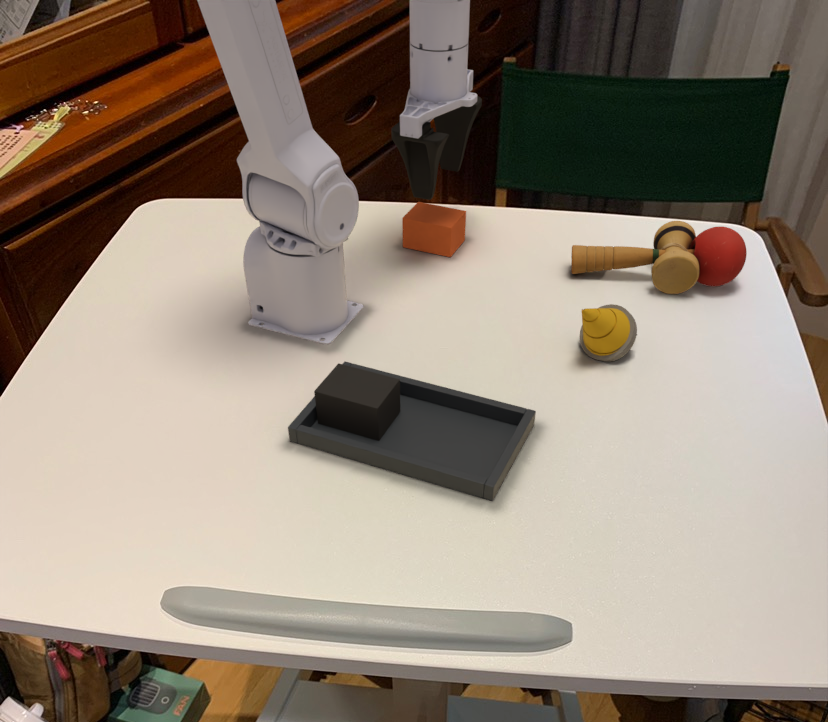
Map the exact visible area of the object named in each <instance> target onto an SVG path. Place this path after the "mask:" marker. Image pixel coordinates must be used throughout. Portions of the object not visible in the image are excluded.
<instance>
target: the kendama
mask: <svg viewBox="0 0 828 722" xmlns="http://www.w3.org/2000/svg"><path fill="white" fill-rule="evenodd" d="M652 243H653V248H649V247H638V246H625V245H624V246H623V245H621V246H619V245H618V246H617V245H616V246H611V245H605V246H604V245H583V244H582V245H581V244H580V245H579V244H573V245H572V246H571V266H570V267H571V270H570V271H571V272H570V273H571V274H572V275H578V274H584V273H594V272H603V271H612V270H624V269H633V268H639V267H643V266H649V265H652V267H651V281H652V284H653V286H654V288H655V289H656V290H658V291H659V292H662V293H664V294H666V295H679V294H682V293H685V292H688V290H690V289H691V288H693V287H694V286H695V285H696V284H697V283H699V284H700V285H703V286H707V287H721V286H724V285H727V284H729V283H731V282H733V281H734V280H735V279H736V278H737V277H738V276H739V275H740V273H741V272H742V270H743V269H744V266H745V263H746V260H747V245H746V242H745V240H744V238H743V236H741V234H740V233H739V232H737V231H736V230H735V229H732V228H730V227H727V226H712V227H710V228H706V229H704V230H703V231H701V232H700V233H699V234H697V235H696V231H695V229H694V227H693V226H692V225H691V224H689V223H688V222H686V221H683V220H671V221H669V222H668V221H667V222H666V223H664V224H663V225H661V226H660V227H659V228H658V229H657V230H656V232H655V234H654V237H653V242H652Z"/></svg>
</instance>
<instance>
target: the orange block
mask: <svg viewBox="0 0 828 722" xmlns="http://www.w3.org/2000/svg"><path fill="white" fill-rule="evenodd" d="M401 220H402V221H401V223H402V226H401V227H402V228H401V229H402V248H406V249H409V250H413V251H419V252H424V253H429V254H433V255H437V256H443V257H448V258H452V256H453V255H454V254H455V253H456V252H457V250H458V249H459V248H460V247H461V245H462V244H463V243H464V242H465V240H466V227H467V226H466V225H467V224H466V223H467V222H466V221H467V210H463V209H458V208H454V207H453V208H452V207H447V206H442V205H438V204H432V203H427V202H422V201H418V202H416V203H415V204H414V205H413V207H411V209H409V210H408V211H407V213H406V214H404V216H403V217H402V218H401Z"/></svg>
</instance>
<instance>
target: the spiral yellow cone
mask: <svg viewBox="0 0 828 722" xmlns="http://www.w3.org/2000/svg"><path fill="white" fill-rule="evenodd" d="M637 325H638V324H637V322H636V319H635V318H634V316H633V315H632V313H630V311H629V310H628V309H626V307H624V306H621V305H619V304H614V303H613V304H612V303H611V304H610V303H609V304H604V305H601V306H599V307H596V308H595V307H594V308H590V307H589V308H581V327H580V331H579V343H580V347H581V349H582V350H583V352H584V353H585V354H586V355H587V356H588V357H590V358H592V359H593V360H596V361H601V362H608V363H609V362H610V363H611V362H615V361H618V360H619V359H621V358H623V357H624V356H626V354H628V353H629V351H631V349H632V348H633V346H634V344H635V342H636V339H637V336H638V326H637Z"/></svg>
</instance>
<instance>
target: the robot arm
mask: <svg viewBox="0 0 828 722" xmlns="http://www.w3.org/2000/svg"><path fill="white" fill-rule="evenodd" d="M196 1H197V4H198V7H199V9H200V12H201V16H202V18H203V20H204V23H205V25H206V29H207V31H208V33H209V34H208V35H209V37H210V39H211V42H212V46H213V48H214V50H215V53H216V56H217V59H218V61H219V64H220V67H221V69H222V71H223V74H224V77H225V80H226V83H227V86H228V88H229V91H230V93H231V96H232V99H233V101H234V104H235V107H236V110H237V112H238V116H239V118H240V121H241V123H242V126H243V129H244V132H245V135H246V137H247V140H248V141H247V142H246V144H245V145H244V146H243V147H242V149H241V151H240V152H239V154H238V156H237V158H236V163H237V166H238V168H239V171H240V175H241V181H242V184H241V185H242V187H241V188H242V190H241V191H242V200H243V201H242V202H243V205H244V208H245V210H246V212H247V213H248V214H249V216H250V217H251V218H252V219H254V220H256V221H258V223H259V226H257V227H256V228H254V229H253V230H252V231H251V233H250V235H249V236H248V237H247V239H246V242H245V246H244V250H243V260H242V262H243V263H242V265H243V273H244V278H245V279H244V280H245V284H246V290H247V291H246V292H247V298H248V303H249V307H250V313H251V314H250V315H251V318H250V319H249V320H248V321H247V324H248V325H249V326H251V327H255V328H258V329H263V330H267V331H271V332H275V333H279V334H282V335H286V336H289V337H294V338H299V339H302V340H305V341H310V342H314V343H316V344H317V343H318V344H322V345H331V344H332V343H333V342H334V341H335V340H336V339H337V338H338V337H339V336H340V335H341V333H342V332H343V331H344V330H346V328H347V327H348V326H349V325H350V323H351V322H353V320H354V319H355V318H356V317H357V316H358V315H359V313H360V312H361V311H362V310H363V309H364V304H363V303H359V302H355V301H351V300H348V294H347V281H346V266H345V265H346V264H345V251H344V243H345V242H347V241H348V240H349V237H350V235H351V234H352V232H353V230H354V228H355V226H356V224H357V221H358V217H359V211H360V200H359V194H358V193H359V192H358V190H357V187H356V185H355V184H354V182H353V180H351V179H350V178H349V177H348V176H347V175H346V173H345V171H344V168H343V166H342V161H341V158H340V157H339V155H338V154H337V153H336V152H335V151H334V150H333V149H332V148H331V146H329V144H328V143H326V141H325V140H324V139H323V138H322V137H321V136H320V135H319V134H318V132H316V131H315V129H314V128H313V124H312V121H311V119H310V115H309V111H308V107H307V104H306V101H305V97H304V94H303V89H302V86H301V84H300V80H299V77H298V74H297V69H296V67H295V64H294V60H293V57H292V53H291V49H290V47H289V42H288V39H287V35H286V33H285V29H284V26H283V22H282V19H281V16H280V12H279V9H278V5H277V2H276V0H196ZM470 8H471V0H409V82H410V84H409V89H408V92H407V96H406V101H405V106H404V110H403V111H402V112H401V113H400V114H399V121H398V122H397V123H396V124H394V125H393V127H391V129H390V130H391V140H392V141H393V143H394V145H395V146H396V148H397V150H398V151H399V154H400V157H401V159H402V160H403V164H404V167H405V169H406V173H407V176H408V181H409V185H410V189H411V192H412V195H413V198H417V199H422V200H428V201H431V200H432V199H433V198H434V195H435V193H436V186H437V180H438V173H439V172H438V170H439V166H440V169H441V170H446V171H452V172H457V173H458V172H459V171H460V169H461V166H462V163H463V160H464V156H465V152H466V147H467V144H468V139H469V136H470V133H471V129H472V126H473V123H474V121H475V119H476V117H477V115H478V113H479V111H480V109H481V108H482V104H483V98H481V97H480V96H478V94H477V93H476V92H472V91H473V87H474V70H473V69H468V63H469V62H468V60H469V41H470V40H469V37H470V11H471V9H470ZM431 121H433V123H434V126H435V131H434V127H432V123H431Z"/></svg>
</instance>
